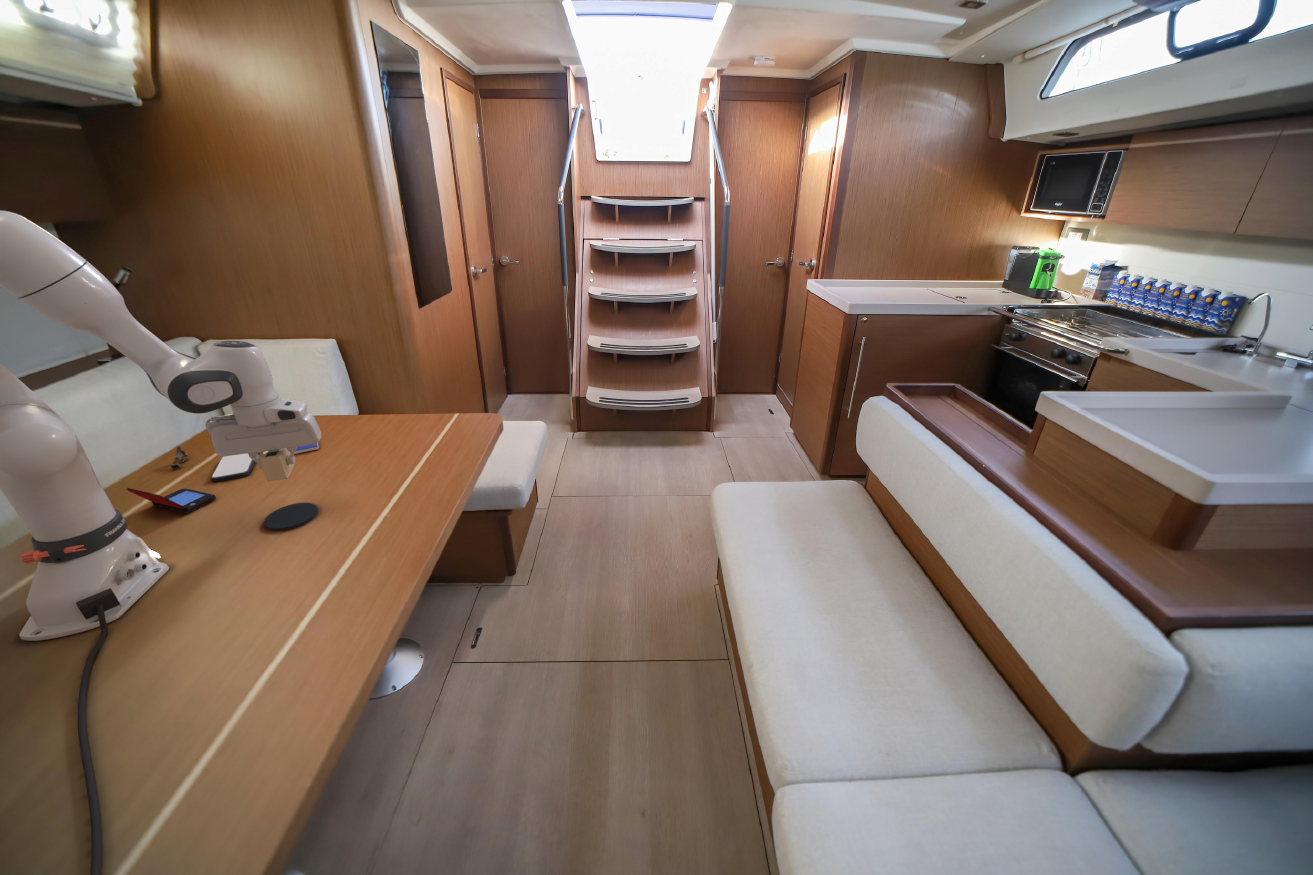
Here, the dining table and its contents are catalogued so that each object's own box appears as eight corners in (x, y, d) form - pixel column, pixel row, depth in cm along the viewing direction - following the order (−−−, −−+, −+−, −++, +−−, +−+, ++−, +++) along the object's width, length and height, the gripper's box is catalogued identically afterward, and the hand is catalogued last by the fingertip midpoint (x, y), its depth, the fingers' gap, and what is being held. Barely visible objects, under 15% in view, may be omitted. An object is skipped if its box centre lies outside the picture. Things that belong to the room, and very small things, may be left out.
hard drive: (268, 455, 149) (317, 445, 155) (269, 444, 155) (316, 435, 161) (270, 459, 149) (318, 449, 155) (271, 448, 155) (317, 439, 162)
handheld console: (219, 498, 130) (208, 474, 127) (172, 522, 121) (159, 496, 118) (185, 490, 133) (173, 466, 130) (137, 512, 124) (123, 487, 121)
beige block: (295, 463, 124) (288, 441, 122) (287, 478, 118) (279, 456, 115) (276, 466, 123) (268, 444, 120) (267, 481, 116) (258, 458, 114)
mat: (313, 525, 120) (312, 522, 120) (258, 535, 117) (257, 532, 116) (322, 501, 129) (321, 499, 129) (271, 510, 126) (270, 507, 125)
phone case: (250, 476, 141) (260, 452, 153) (248, 471, 140) (258, 447, 153) (210, 484, 137) (224, 458, 150) (208, 479, 136) (222, 453, 149)
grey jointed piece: (191, 452, 151) (182, 443, 147) (185, 473, 146) (177, 463, 143) (183, 453, 150) (175, 444, 147) (177, 474, 146) (169, 465, 142)
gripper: (196, 423, 107) (220, 479, 113) (307, 410, 114) (324, 464, 120) (207, 412, 112) (230, 466, 118) (313, 401, 119) (329, 452, 125)
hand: (278, 465), depth 119 cm, fingers closed on beige block, 4 cm apart
